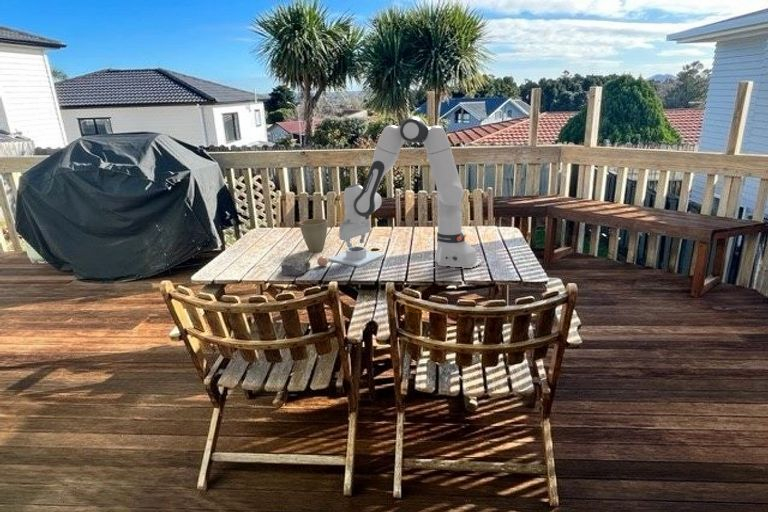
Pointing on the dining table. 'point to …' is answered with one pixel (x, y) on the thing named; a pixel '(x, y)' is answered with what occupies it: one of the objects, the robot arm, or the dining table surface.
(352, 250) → the steel ball
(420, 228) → the dining table surface
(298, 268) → the rock
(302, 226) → the plant pot
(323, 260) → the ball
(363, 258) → the ring plate
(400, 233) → the dining table surface
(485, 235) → the dining table surface
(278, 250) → the dining table surface
